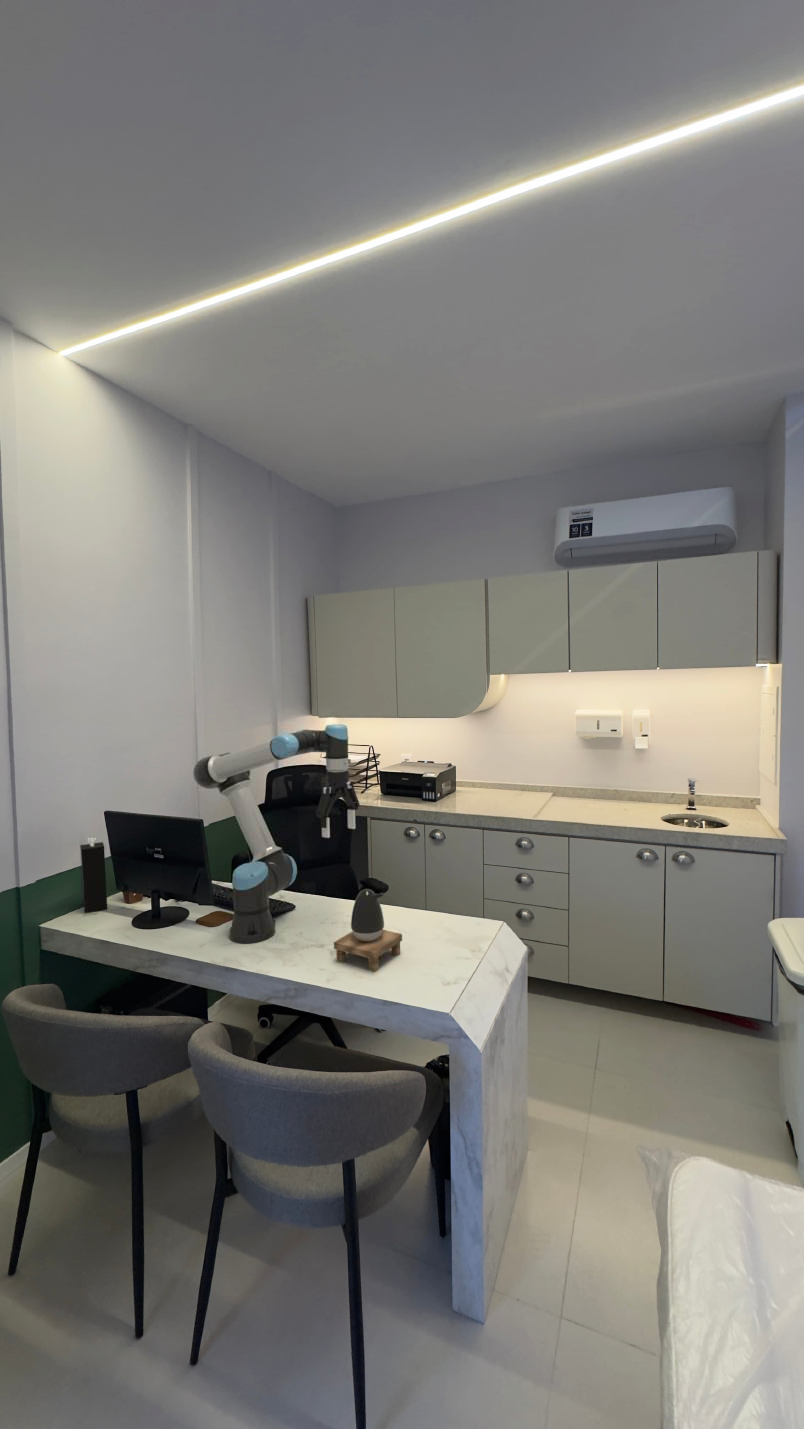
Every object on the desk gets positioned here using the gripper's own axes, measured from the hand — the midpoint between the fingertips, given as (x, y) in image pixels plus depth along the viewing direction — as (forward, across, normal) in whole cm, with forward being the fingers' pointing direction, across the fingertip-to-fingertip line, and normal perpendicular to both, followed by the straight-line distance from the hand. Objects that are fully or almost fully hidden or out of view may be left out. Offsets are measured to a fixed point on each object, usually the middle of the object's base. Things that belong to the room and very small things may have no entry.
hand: (339, 832), depth 205 cm
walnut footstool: (+34, -11, -20) cm, 41 cm away
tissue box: (+35, -31, +97) cm, 108 cm away
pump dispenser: (+28, -11, -20) cm, 36 cm away
